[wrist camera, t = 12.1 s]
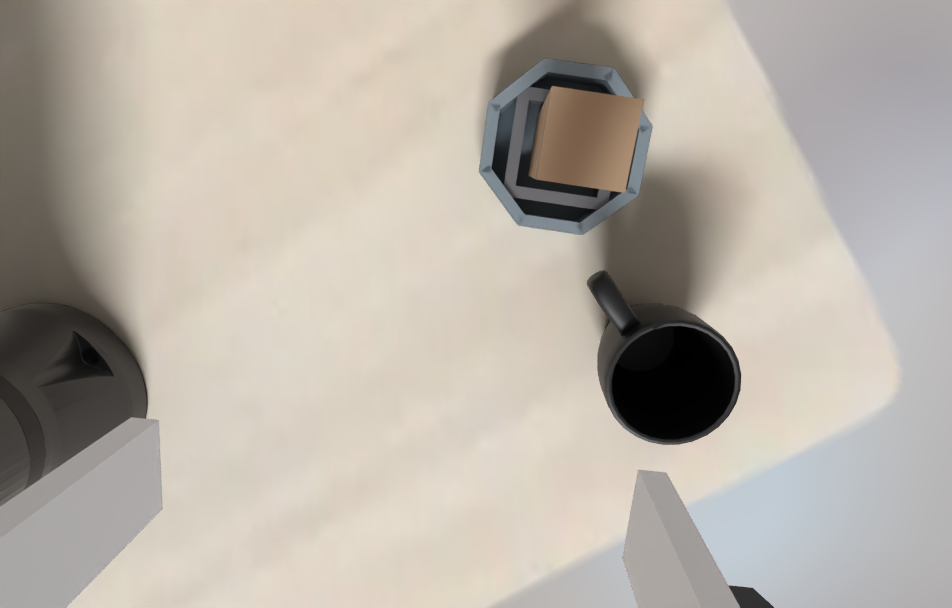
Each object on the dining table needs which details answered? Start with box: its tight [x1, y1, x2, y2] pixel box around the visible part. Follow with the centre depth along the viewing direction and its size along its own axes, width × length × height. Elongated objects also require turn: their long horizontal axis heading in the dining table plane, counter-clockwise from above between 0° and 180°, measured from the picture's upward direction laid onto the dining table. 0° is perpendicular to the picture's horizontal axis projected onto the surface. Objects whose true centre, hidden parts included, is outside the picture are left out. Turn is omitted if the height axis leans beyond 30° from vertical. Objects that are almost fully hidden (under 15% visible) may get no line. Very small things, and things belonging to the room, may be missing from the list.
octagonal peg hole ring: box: [479, 58, 652, 235], centre depth 40 cm, size 11×11×4 cm
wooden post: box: [528, 86, 644, 193], centre depth 33 cm, size 4×4×16 cm
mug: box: [587, 270, 741, 445], centre depth 39 cm, size 8×12×10 cm
